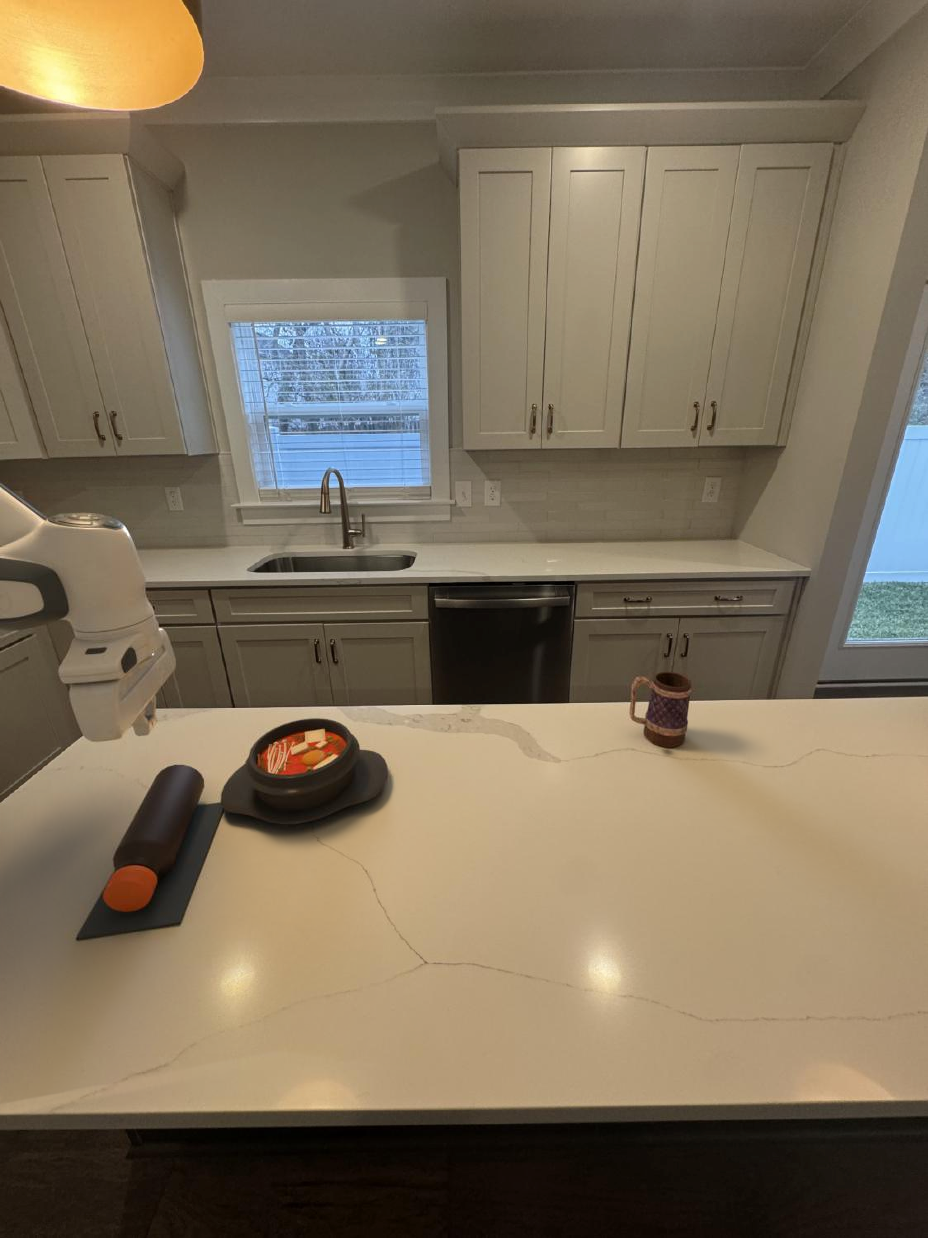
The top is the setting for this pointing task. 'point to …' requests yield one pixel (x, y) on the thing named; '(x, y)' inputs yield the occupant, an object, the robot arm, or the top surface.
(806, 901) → the top surface
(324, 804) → the casserole
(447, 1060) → the top surface
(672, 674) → the mug
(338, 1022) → the top surface
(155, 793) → the vinegar
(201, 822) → the mat
